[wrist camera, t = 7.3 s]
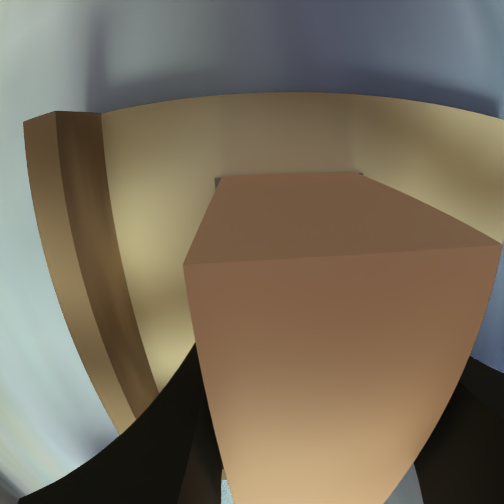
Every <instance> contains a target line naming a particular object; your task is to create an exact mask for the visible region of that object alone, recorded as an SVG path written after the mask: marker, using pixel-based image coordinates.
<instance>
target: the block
mask: <svg viewBox="0 0 504 504" xmlns="http://www.w3.org/2000/svg"><path fill="white" fill-rule="evenodd" d="M502 246H503V244H501V243H499V242H498V241H496V240H494V239H492V238H491V237H489V236H487V235H485V234H484V233H482V232H480V231H478V230H476V229H475V228H473V227H471V226H469V225H467V224H465V223H464V222H462V221H460V220H458V219H456V218H454V217H452V216H450V215H448V214H446V213H444V212H442V211H440V210H438V209H436V208H434V207H432V206H430V205H428V204H426V203H424V202H422V201H420V200H418V199H416V198H413V197H411V196H409V195H407V194H405V193H403V192H400V191H398V190H396V189H394V188H391V187H389V186H387V185H385V184H382V183H380V182H378V181H375V180H373V179H371V178H368V177H366V176H363V175H361V174H358V173H285V174H260V175H241V176H225V177H222V178H221V180H220V182H219V184H218V186H217V188H216V190H215V193H214V195H213V197H212V199H211V201H210V204H209V206H208V208H207V210H206V212H205V215H204V217H203V219H202V221H201V223H200V226H199V228H198V230H197V233H196V235H195V237H194V239H193V242H192V244H191V246H190V249H189V251H188V253H187V256H186V258H185V260H184V263H183V271H184V277H185V284H186V290H187V296H188V302H189V308H190V314H191V320H192V326H193V331H194V337H195V342H196V347H197V353H198V358H199V363H200V368H201V373H202V377H203V382H204V387H205V391H206V396H207V401H208V405H209V409H210V414H211V418H212V422H213V427H214V431H215V435H216V439H217V443H218V447H219V451H220V455H221V458H222V462H223V466H224V470H225V473H226V477H227V481H228V484H229V488H230V491H231V495H232V498H233V501H234V504H383V503H384V502H385V501H386V500H387V498H388V497H389V496H390V494H391V493H392V492H393V490H394V489H395V488H396V486H397V485H398V484H399V482H400V481H401V480H402V478H403V477H404V475H405V474H406V472H407V471H408V470H409V468H410V467H411V465H412V464H413V462H414V461H415V459H416V458H417V456H418V454H419V453H420V451H421V450H422V448H423V447H424V445H425V443H426V442H427V440H428V438H429V437H430V435H431V433H432V431H433V430H434V428H435V426H436V424H437V423H438V421H439V419H440V417H441V415H442V413H443V412H444V410H445V408H446V406H447V404H448V402H449V400H450V398H451V396H452V394H453V392H454V390H455V388H456V386H457V383H458V381H459V379H460V377H461V375H462V372H463V370H464V368H465V365H466V363H467V361H468V358H469V356H470V353H471V351H472V348H473V346H474V343H475V340H476V338H477V335H478V332H479V329H480V327H481V324H482V321H483V318H484V315H485V312H486V308H487V305H488V302H489V299H490V295H491V292H492V288H493V284H494V281H495V277H496V273H497V269H498V265H499V260H500V256H501V251H502Z"/></svg>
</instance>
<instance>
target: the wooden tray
mask: <svg viewBox="0 0 504 504" xmlns="http://www.w3.org/2000/svg"><path fill="white" fill-rule="evenodd" d="M23 127H24V140H25V151H26V160H27V168H28V175H29V182H30V189H31V195H32V200H33V206H34V211H35V216H36V221H37V225H38V230H39V234H40V239H41V243H42V247H43V251H44V255H45V258H46V262H47V266H48V269H49V273H50V276H51V279H52V283H53V286H54V289H55V292H56V295H57V298H58V301H59V304H60V307H61V310H62V313H63V315H64V318H65V321H66V324H67V326H68V329H69V331H70V334H71V337H72V339H73V342H74V344H75V346H76V349H77V351H78V354H79V356H80V358H81V360H82V363H83V365H84V367H85V369H86V372H87V374H88V376H89V378H90V380H91V382H92V384H93V386H94V388H95V390H96V392H97V394H98V396H99V398H100V400H101V402H102V404H103V406H104V408H105V410H106V412H107V414H108V415H109V417H110V419H111V421H112V423H113V424H114V426H115V428H116V430H117V431H118V433H119V435H121V434H122V433H123V432H124V431H125V430H126V429H127V428H128V427H129V426H130V425H131V424H132V423H133V422H134V421H135V420H136V419H137V418H138V417H139V416H140V415H141V414H142V413H143V412H144V411H145V410H146V409H147V407H148V406H149V405H150V404H151V403H152V402H153V400H154V399H155V398H156V397H157V395H158V394H159V393H160V392H161V391H162V389H163V388H164V387H165V386H166V384H167V383H168V382H169V380H170V379H171V378H172V376H173V375H174V373H175V372H176V371H177V369H178V368H179V366H180V365H181V363H182V362H183V360H184V359H185V357H186V356H187V354H188V353H189V351H190V350H191V348H192V346H193V345H194V343H195V337H194V331H193V326H192V320H191V314H190V308H189V302H188V296H187V290H186V284H185V277H184V271H183V263H184V260H185V258H186V256H187V253H188V251H189V249H190V246H191V244H192V242H193V239H194V237H195V235H196V233H197V230H198V228H199V226H200V223H201V221H202V219H203V217H204V215H205V212H206V210H207V208H208V206H209V204H210V201H211V199H212V197H213V195H214V193H215V190H216V188H217V186H218V184H219V182H220V180H221V178H222V177H225V176H241V175H260V174H285V173H358V174H361V175H363V176H366V177H368V178H371V179H373V180H375V181H378V182H380V183H382V184H385V185H387V186H389V187H391V188H394V189H396V190H398V191H400V192H403V193H405V194H407V195H409V196H411V197H413V198H416V199H418V200H420V201H422V202H424V203H426V204H428V205H430V206H432V207H434V208H436V209H438V210H440V211H442V212H444V213H446V214H448V215H450V216H452V217H454V218H456V219H458V220H460V221H462V222H464V223H465V224H467V225H469V226H471V227H473V228H475V229H476V230H478V231H480V232H482V233H484V234H485V235H487V236H489V237H491V238H492V239H494V240H496V241H498V242H499V243H501V244H503V240H504V120H502V119H499V118H495V117H491V116H487V115H483V114H479V113H475V112H471V111H467V110H462V109H457V108H452V107H447V106H442V105H437V104H431V103H425V102H419V101H412V100H405V99H397V98H389V97H380V96H370V95H358V94H343V93H322V92H263V93H241V94H226V95H214V96H204V97H194V98H186V99H178V100H171V101H164V102H157V103H151V104H145V105H139V106H134V107H128V108H123V109H118V110H114V111H109V112H104V113H90V112H72V111H53V112H50V113H47V114H44V115H41V116H38V117H35V118H32V119H30V120H27V121H24V122H23ZM221 480H227V477H226V473H225V470H224V466H223V468H222V479H221Z"/></svg>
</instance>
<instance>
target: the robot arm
mask: <svg viewBox="0 0 504 504" xmlns="http://www.w3.org/2000/svg"><path fill="white" fill-rule="evenodd" d="M222 468H223V462H222V458H221V455H220V451H219V447H218V443H217V439H216V435H215V431H214V427H213V422H212V418H211V414H210V409H209V405H208V401H207V396H206V391H205V387H204V382H203V377H202V373H201V368H200V363H199V358H198V353H197V347H196V342H195V343H194V345H193V346H192V348H191V350H190V351H189V353H188V354H187V356H186V357H185V359H184V360H183V362H182V363H181V365H180V366H179V368H178V369H177V371H176V372H175V373H174V375H173V376H172V378H171V379H170V380H169V382H168V383H167V384H166V386H165V387H164V388H163V389H162V391H161V392H160V393H159V394H158V395H157V397H156V398H155V399H154V400H153V402H152V403H151V404H150V405H149V406H148V407H147V409H146V410H145V411H144V412H143V413H142V414H141V415H140V416H139V417H138V418H137V419H136V420H135V421H134V422H133V423H132V424H131V425H130V426H129V427H128V428H127V429H126V430H125V431H124V432H123V433H122V434H121V435H120V436H118V437H117V438H116V439H115V440H114V441H113V442H112V443H110V444H109V445H108V446H107V447H106V448H105V449H103V450H102V451H101V452H99V453H98V454H97V455H96V456H94V457H93V458H91V459H90V460H89V461H87V462H86V463H84V464H83V465H81V466H80V467H78V468H77V469H75V470H74V471H72V472H71V473H69V474H68V475H66V476H64V477H63V478H61V479H59V480H57V481H56V482H54V483H52V484H50V485H48V486H46V487H44V488H42V489H39V490H37V491H35V492H33V493H31V494H29V495H27V496H24V497H22V498H20V499H19V501H18V503H17V504H221V479H222ZM383 504H504V373H501V372H499V371H497V370H495V369H493V368H491V367H489V366H487V365H485V364H483V363H481V362H479V361H478V360H476V359H474V358H472V357H470V356H469V358H468V361H467V363H466V365H465V368H464V370H463V372H462V375H461V377H460V379H459V381H458V383H457V386H456V388H455V390H454V392H453V394H452V396H451V398H450V400H449V402H448V404H447V406H446V408H445V410H444V412H443V413H442V415H441V417H440V419H439V421H438V423H437V424H436V426H435V428H434V430H433V431H432V433H431V435H430V437H429V438H428V440H427V442H426V443H425V445H424V447H423V448H422V450H421V451H420V453H419V454H418V456H417V458H416V459H415V461H414V462H413V464H412V465H411V467H410V468H409V470H408V471H407V472H406V474H405V475H404V477H403V478H402V480H401V481H400V482H399V484H398V485H397V486H396V488H395V489H394V490H393V492H392V493H391V494H390V496H389V497H388V498H387V500H386V501H385V502H384V503H383Z"/></svg>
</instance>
